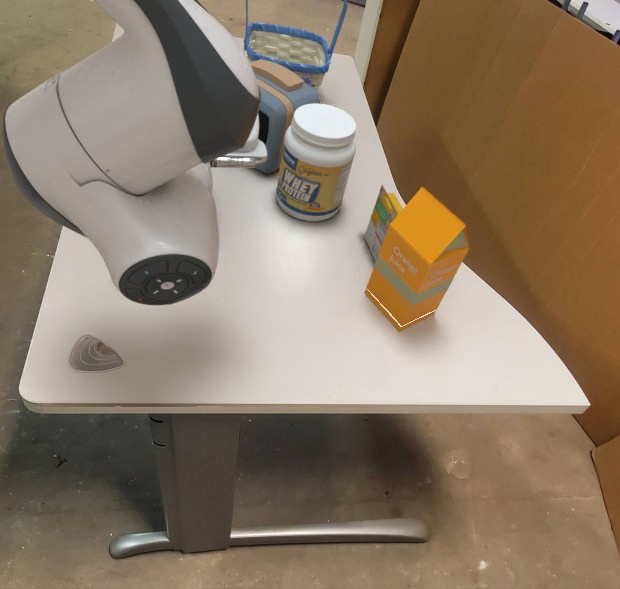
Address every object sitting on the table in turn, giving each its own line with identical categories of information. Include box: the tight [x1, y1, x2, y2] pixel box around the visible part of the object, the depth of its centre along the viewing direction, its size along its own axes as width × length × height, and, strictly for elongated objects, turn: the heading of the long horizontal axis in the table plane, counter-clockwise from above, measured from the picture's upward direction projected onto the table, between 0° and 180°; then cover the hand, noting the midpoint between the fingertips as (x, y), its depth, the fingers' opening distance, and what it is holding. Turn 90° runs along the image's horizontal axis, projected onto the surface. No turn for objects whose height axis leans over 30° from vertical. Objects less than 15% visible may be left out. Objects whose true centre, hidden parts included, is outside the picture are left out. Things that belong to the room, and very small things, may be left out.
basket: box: [243, 0, 348, 93], centre depth 113 cm, size 21×16×24 cm
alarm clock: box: [250, 59, 321, 174], centre depth 100 cm, size 16×16×16 cm
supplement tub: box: [275, 103, 357, 222], centre depth 90 cm, size 12×12×17 cm
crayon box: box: [363, 184, 404, 262], centre depth 86 cm, size 7×3×12 cm, turn 15°
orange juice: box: [364, 185, 470, 332], centre depth 76 cm, size 8×9×20 cm
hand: (161, 90), depth 59 cm, fingers open, 8 cm apart
